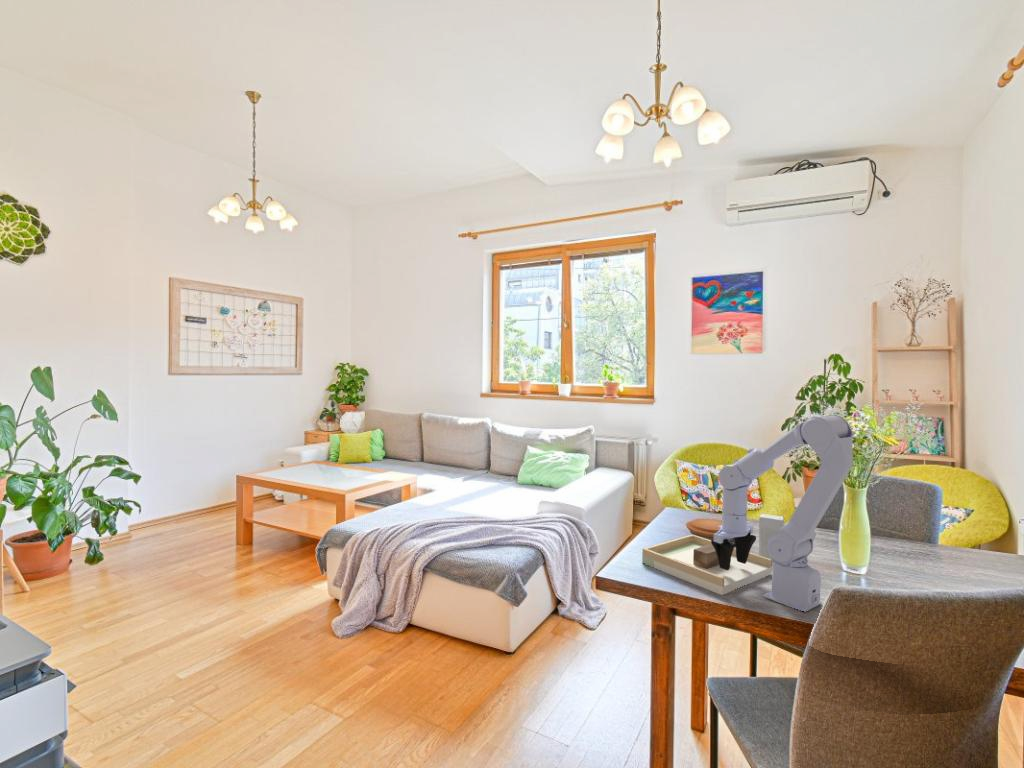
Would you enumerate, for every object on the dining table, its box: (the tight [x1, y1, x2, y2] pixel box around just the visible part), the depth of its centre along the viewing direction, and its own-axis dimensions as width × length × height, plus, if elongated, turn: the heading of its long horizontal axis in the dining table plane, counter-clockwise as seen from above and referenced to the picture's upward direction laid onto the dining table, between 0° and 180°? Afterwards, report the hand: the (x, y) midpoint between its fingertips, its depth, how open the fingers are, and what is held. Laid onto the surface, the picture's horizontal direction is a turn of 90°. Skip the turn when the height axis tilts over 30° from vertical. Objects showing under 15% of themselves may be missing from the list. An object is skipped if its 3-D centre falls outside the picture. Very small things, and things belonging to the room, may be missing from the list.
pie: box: [685, 518, 734, 543], centre depth 163 cm, size 15×16×5 cm
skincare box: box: [758, 513, 785, 559], centre depth 145 cm, size 6×4×12 cm
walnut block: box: [693, 544, 719, 569], centre depth 136 cm, size 4×9×4 cm, turn 125°
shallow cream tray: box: [641, 534, 772, 596], centre depth 138 cm, size 24×22×4 cm
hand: (733, 565), depth 131 cm, fingers open, 7 cm apart
